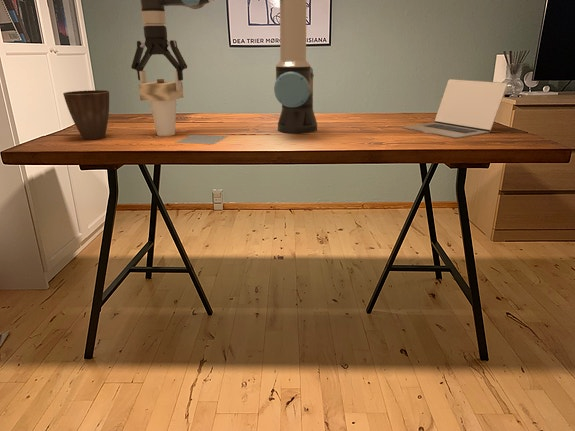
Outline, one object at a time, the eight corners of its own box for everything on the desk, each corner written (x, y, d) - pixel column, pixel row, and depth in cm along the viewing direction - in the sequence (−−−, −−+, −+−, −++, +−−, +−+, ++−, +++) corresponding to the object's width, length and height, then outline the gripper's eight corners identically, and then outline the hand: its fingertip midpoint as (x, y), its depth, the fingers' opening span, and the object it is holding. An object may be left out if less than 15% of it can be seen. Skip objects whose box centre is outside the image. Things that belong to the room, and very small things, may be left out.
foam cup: (172, 138, 163) (168, 100, 158) (148, 137, 164) (144, 100, 160) (183, 133, 171) (180, 97, 167) (160, 132, 173) (156, 97, 169)
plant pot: (66, 137, 166) (57, 92, 161) (107, 132, 175) (100, 89, 170) (78, 143, 155) (70, 95, 150) (122, 137, 164) (115, 91, 159)
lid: (183, 97, 167) (181, 78, 165) (169, 100, 157) (167, 80, 155) (156, 97, 170) (154, 78, 167) (140, 100, 160) (137, 80, 157)
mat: (228, 136, 163) (228, 136, 163) (213, 144, 151) (213, 144, 150) (192, 135, 167) (192, 134, 166) (174, 143, 154) (174, 142, 154)
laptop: (401, 129, 176) (404, 82, 170) (444, 123, 188) (449, 78, 182) (455, 140, 155) (462, 86, 149) (500, 132, 167) (508, 82, 161)
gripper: (193, 24, 155) (198, 89, 163) (128, 26, 161) (135, 88, 169) (183, 24, 149) (189, 91, 156) (115, 25, 154) (124, 90, 162)
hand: (161, 90), depth 162 cm, fingers open, 13 cm apart
